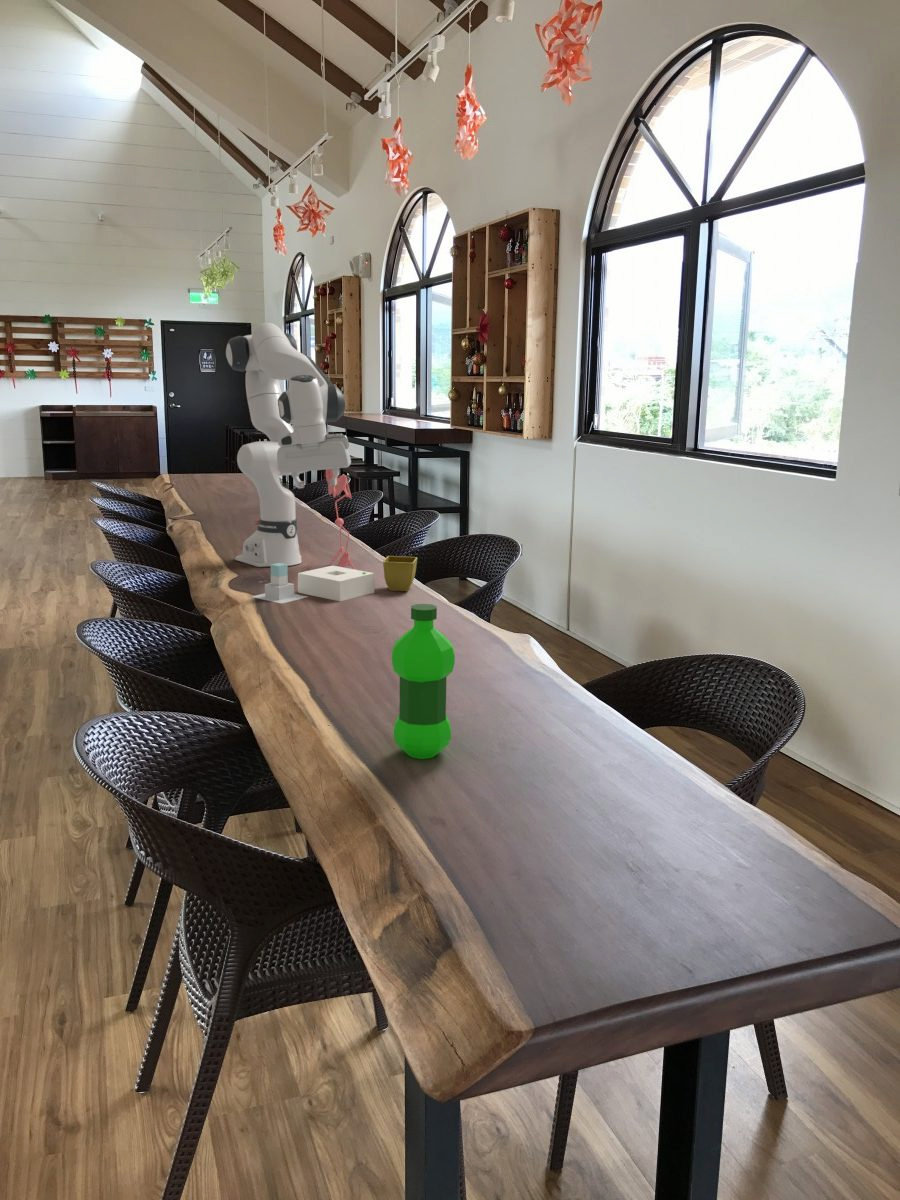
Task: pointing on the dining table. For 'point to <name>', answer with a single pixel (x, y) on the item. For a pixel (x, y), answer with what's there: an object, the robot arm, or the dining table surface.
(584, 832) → the dining table surface
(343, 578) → the port
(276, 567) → the plug
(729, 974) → the dining table surface
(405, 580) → the flower pot
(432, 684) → the plastic bottle
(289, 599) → the holster
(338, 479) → the figurine
